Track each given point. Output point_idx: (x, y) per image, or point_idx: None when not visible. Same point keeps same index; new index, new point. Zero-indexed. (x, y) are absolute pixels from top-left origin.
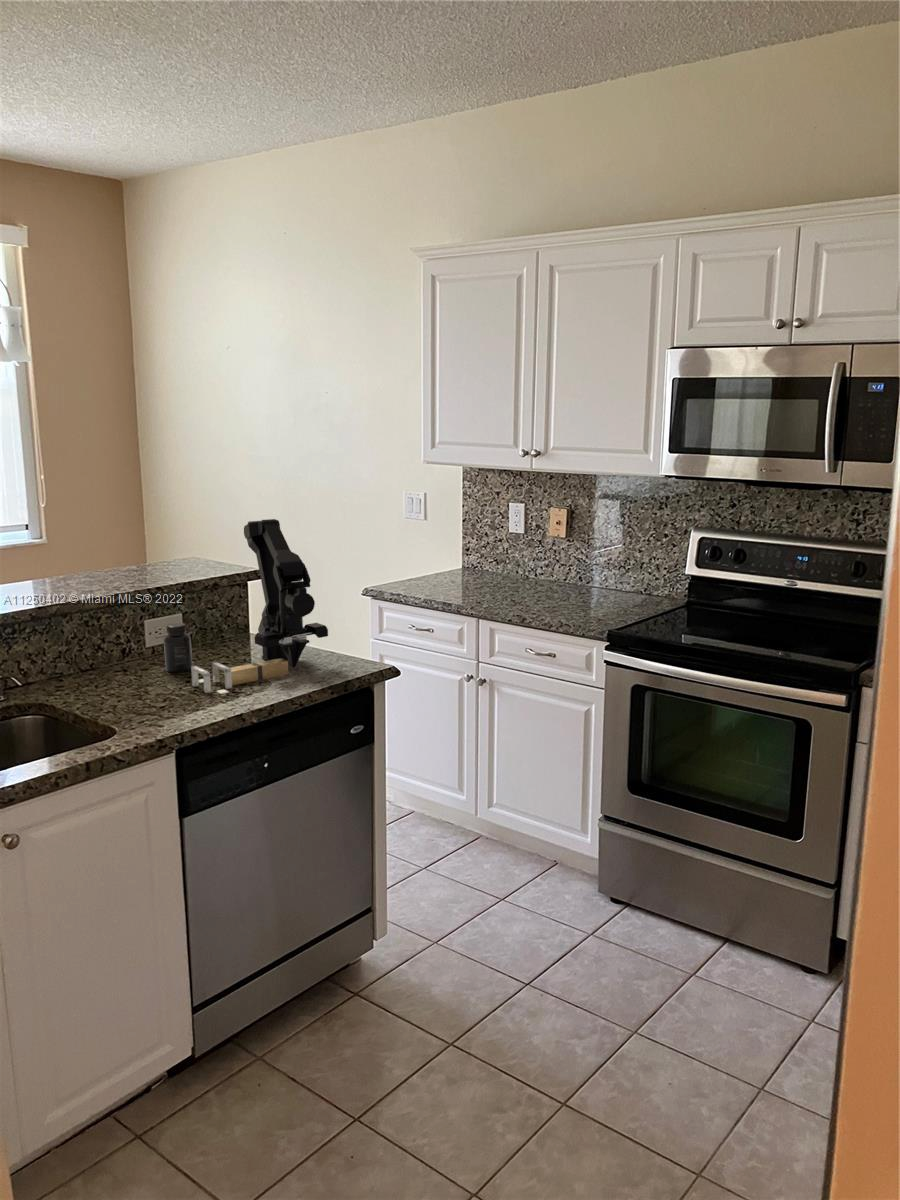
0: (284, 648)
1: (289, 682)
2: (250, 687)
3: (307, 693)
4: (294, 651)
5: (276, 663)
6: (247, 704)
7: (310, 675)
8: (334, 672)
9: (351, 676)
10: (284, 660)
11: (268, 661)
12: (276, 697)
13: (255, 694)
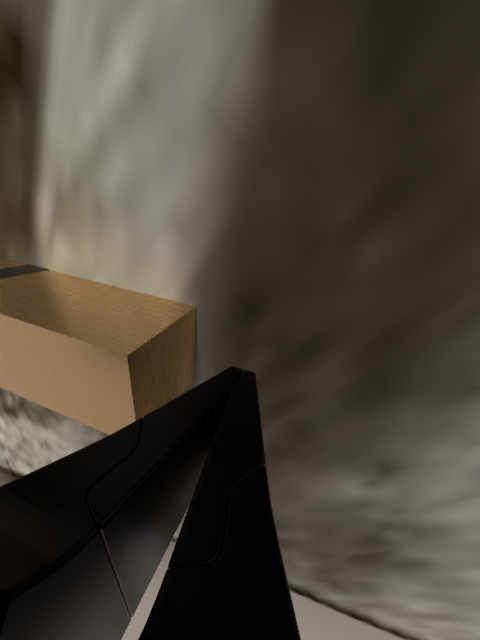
0: (30, 512)
1: None
2: None
3: None
4: (133, 588)
5: (61, 409)
6: (5, 446)
7: None
8: (379, 545)
9: (365, 602)
10: (123, 421)
11: (15, 339)
12: None
13: (24, 424)
